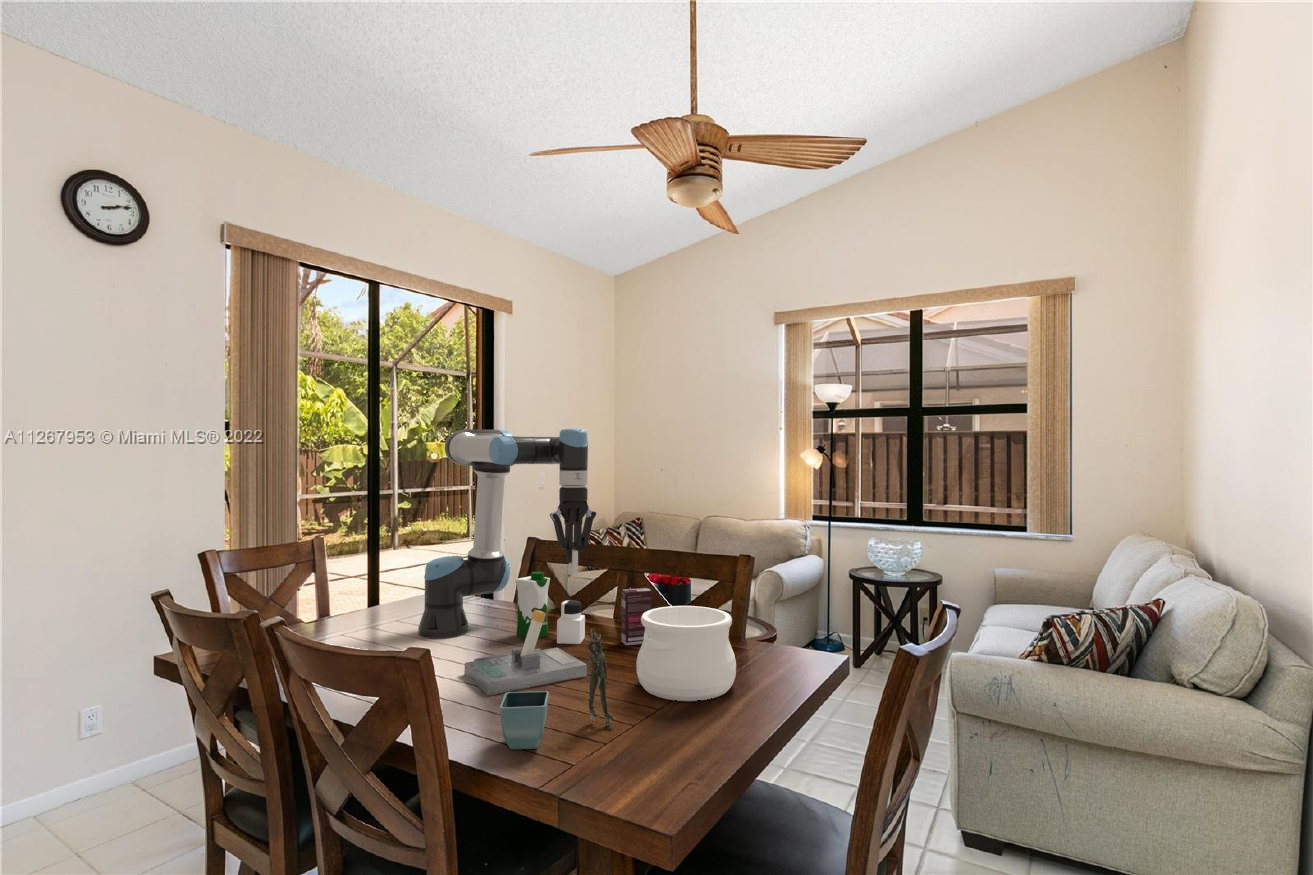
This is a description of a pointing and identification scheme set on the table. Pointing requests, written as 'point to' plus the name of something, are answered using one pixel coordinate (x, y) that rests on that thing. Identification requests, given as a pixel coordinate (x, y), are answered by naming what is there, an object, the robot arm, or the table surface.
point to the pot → (686, 653)
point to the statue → (598, 676)
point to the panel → (524, 670)
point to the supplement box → (634, 614)
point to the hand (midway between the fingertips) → (573, 574)
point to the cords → (499, 656)
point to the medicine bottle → (571, 623)
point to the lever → (533, 633)
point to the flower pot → (523, 718)
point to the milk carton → (532, 602)
